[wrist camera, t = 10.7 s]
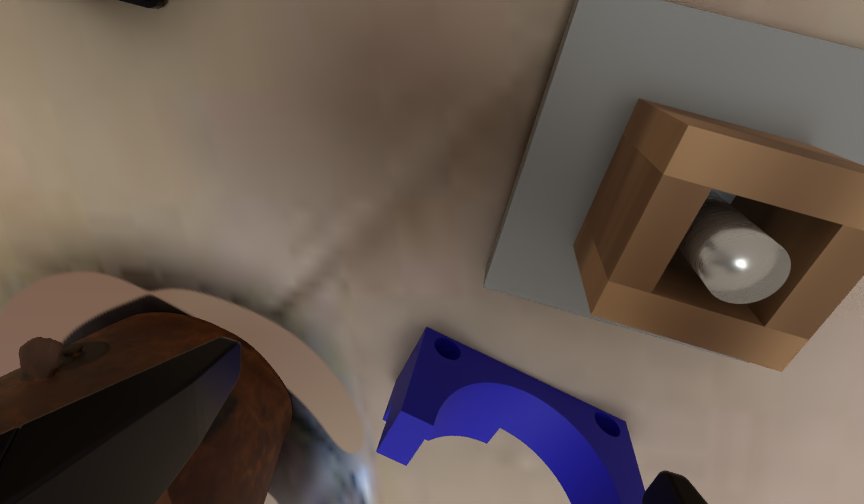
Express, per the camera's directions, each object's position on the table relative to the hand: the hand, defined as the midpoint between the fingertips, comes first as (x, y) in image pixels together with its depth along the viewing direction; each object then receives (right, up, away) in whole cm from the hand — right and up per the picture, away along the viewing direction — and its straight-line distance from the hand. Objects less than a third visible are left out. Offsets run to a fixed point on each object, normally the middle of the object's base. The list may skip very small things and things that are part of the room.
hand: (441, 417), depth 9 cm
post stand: (+9, +6, +9) cm, 14 cm away
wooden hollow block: (+9, +5, +7) cm, 13 cm away
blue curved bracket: (+4, -5, +16) cm, 17 cm away
